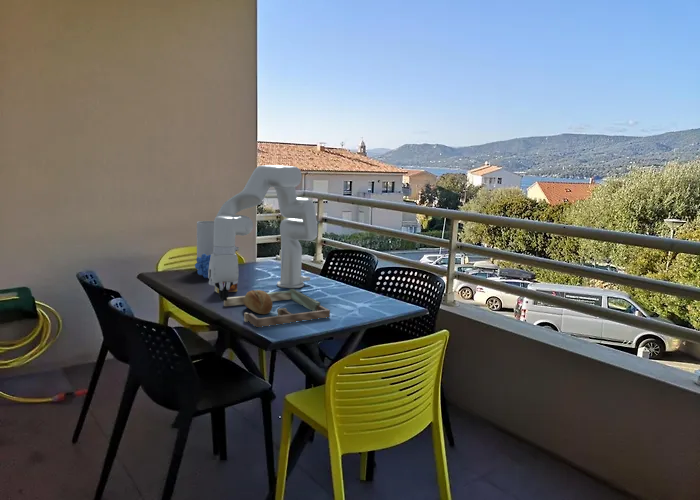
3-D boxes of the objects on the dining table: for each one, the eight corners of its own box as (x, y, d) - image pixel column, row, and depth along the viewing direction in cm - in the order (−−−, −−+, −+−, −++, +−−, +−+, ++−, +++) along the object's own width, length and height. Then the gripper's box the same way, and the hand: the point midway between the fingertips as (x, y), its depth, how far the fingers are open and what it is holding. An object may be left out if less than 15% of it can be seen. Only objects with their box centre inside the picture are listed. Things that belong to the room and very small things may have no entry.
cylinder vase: (203, 274, 245) (203, 224, 241) (192, 269, 254) (192, 221, 250) (226, 271, 254) (226, 223, 250) (214, 267, 263) (215, 220, 259)
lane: (292, 297, 210) (293, 288, 209) (319, 312, 190) (319, 302, 190) (223, 305, 193) (223, 295, 193) (245, 322, 174) (245, 311, 173)
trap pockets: (319, 312, 190) (319, 305, 190) (329, 317, 184) (329, 310, 184) (248, 321, 175) (248, 313, 174) (256, 328, 168) (256, 319, 168)
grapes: (199, 281, 230) (199, 256, 228) (192, 278, 235) (192, 253, 233) (221, 278, 238) (222, 254, 236) (215, 275, 243) (215, 251, 241)
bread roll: (254, 318, 179) (254, 296, 178) (238, 307, 192) (238, 287, 190) (278, 314, 185) (278, 294, 184) (261, 304, 197) (261, 285, 196)
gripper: (240, 248, 185) (239, 295, 187) (200, 249, 177) (199, 299, 179) (247, 251, 179) (246, 300, 181) (206, 253, 170) (206, 304, 173)
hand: (223, 299), depth 180 cm, fingers closed
